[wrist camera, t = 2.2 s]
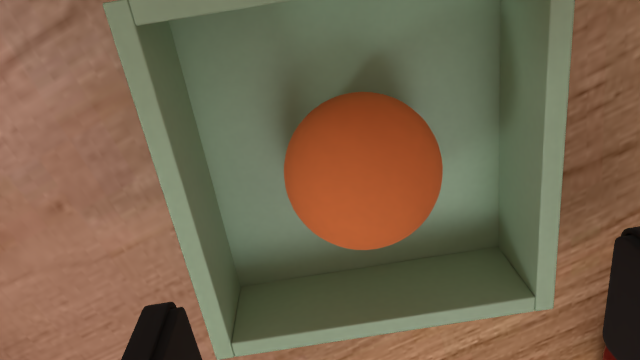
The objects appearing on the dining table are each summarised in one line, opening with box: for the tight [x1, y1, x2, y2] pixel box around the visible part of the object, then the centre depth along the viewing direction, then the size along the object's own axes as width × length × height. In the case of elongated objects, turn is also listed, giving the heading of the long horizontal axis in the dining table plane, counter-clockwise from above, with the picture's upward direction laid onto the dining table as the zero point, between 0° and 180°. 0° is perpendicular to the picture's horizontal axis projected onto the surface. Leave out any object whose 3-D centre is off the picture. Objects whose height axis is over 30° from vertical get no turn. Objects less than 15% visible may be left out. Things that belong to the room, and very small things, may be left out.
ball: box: [284, 92, 443, 250], centre depth 18 cm, size 6×6×6 cm
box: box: [103, 0, 575, 360], centre depth 19 cm, size 15×15×4 cm
